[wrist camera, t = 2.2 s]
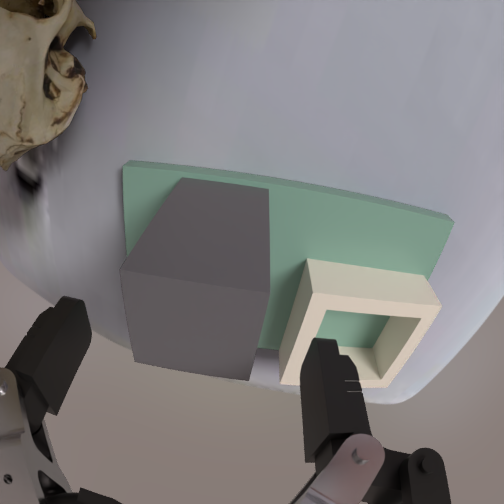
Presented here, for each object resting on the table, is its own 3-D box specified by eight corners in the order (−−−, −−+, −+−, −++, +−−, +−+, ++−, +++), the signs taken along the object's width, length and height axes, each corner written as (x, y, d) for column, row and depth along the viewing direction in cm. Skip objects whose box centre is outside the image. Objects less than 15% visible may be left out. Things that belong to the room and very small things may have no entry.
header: (306, 258, 18) (313, 292, 15) (424, 275, 18) (442, 306, 15) (278, 350, 22) (279, 384, 19) (378, 356, 22) (386, 387, 20)
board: (129, 160, 16) (122, 165, 15) (447, 214, 17) (454, 222, 16) (139, 318, 22) (135, 328, 21) (380, 347, 23) (383, 357, 22)
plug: (181, 177, 15) (119, 269, 9) (268, 188, 16) (270, 293, 9) (178, 258, 18) (136, 369, 11) (254, 269, 18) (246, 388, 11)
